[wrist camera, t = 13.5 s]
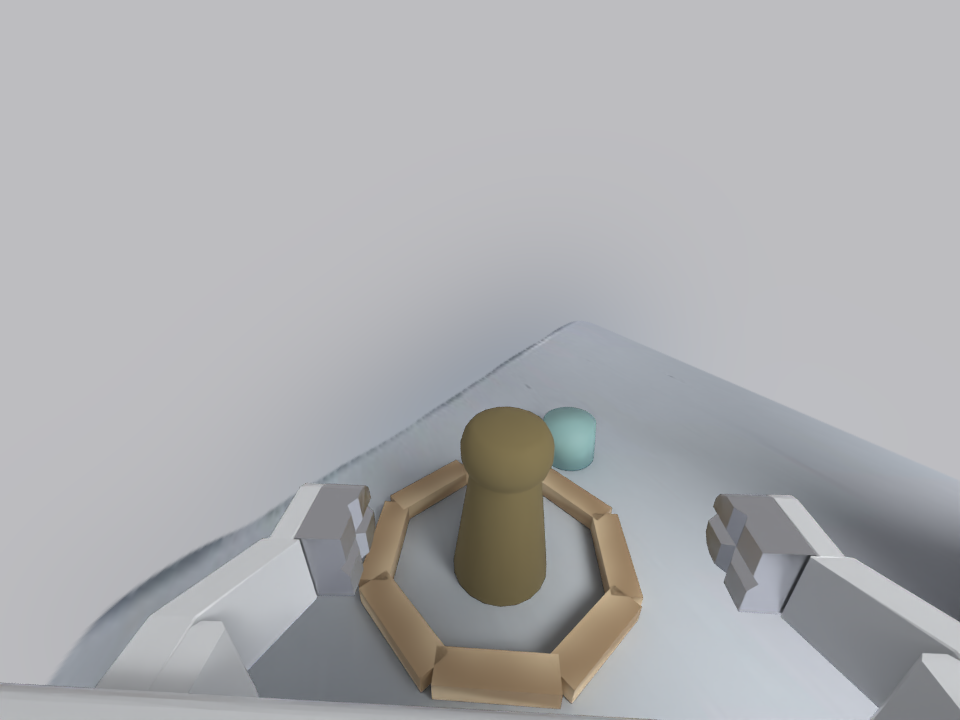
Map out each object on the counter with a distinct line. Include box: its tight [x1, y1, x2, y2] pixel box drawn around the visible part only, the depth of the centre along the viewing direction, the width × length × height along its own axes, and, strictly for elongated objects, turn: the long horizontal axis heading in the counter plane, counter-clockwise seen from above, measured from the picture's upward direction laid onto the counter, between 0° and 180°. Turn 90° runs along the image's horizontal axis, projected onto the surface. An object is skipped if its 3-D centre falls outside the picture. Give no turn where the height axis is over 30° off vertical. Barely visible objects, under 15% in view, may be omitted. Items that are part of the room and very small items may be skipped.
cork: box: [454, 407, 555, 607], centre depth 25 cm, size 6×6×11 cm
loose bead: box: [543, 407, 596, 471], centre depth 36 cm, size 4×4×4 cm
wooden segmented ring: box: [359, 460, 643, 709], centre depth 27 cm, size 17×17×1 cm
